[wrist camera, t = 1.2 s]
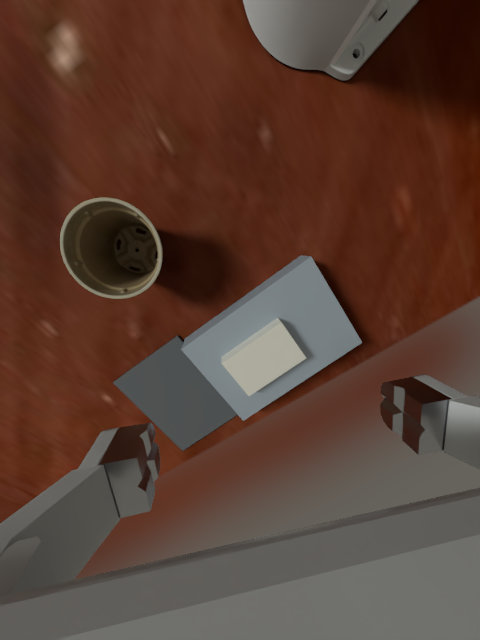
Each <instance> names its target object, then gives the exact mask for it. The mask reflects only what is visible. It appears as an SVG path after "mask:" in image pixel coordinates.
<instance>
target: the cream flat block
mask: <svg viewBox="0 0 480 640" xmlns="http://www.w3.org/2000/svg"><path fill="white" fill-rule="evenodd" d="M305 359H306V357H305V355H304V354H303V352H302V351H301V350H300V348H299V347H298V345H297V344H296V342H295V341H294V339H293V338H292V337H291V335H290V334H289V332H288V331H287V329H286V328H285V326H284V325H283V324H282V322H281V321H280V320H279V319H278V318H276V319H275V320H274V321H272V322H271V323H269V324H268V325H266V326H265V327H264V328H262V329H261V330H259V331H258V332H256V333H255V334H253V335H252V336H251V337H249V338H248V339H246V340H245V341H243V342H242V343H241V344H239V345H238V346H236V347H235V348H233V349H232V350H230V351H229V352H228V353H226V354H225V355H223V356H222V357H221V362H222V365H223V366H224V367H225V368H226V370H227V371H228V372H229V373H230V374H231V376H232V377H233V378H234V379H235V380H236V382H237V383H238V384H239V385H240V386H241V388H242V389H243V390H244V391H245V393H246V394H247V395H248V396H251V395H252V394H254V393H255V392H257V391H258V390H260V389H261V388H263V387H264V386H266V385H267V384H269V383H270V382H272V381H273V380H275V379H276V378H278V377H279V376H281V375H282V374H284V373H285V372H287V371H288V370H290V369H291V368H293V367H294V366H296V365H297V364H299V363H300V362H302V361H303V360H305Z"/></svg>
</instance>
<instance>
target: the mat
mask: <svg viewBox="0 0 480 640" xmlns="http://www.w3.org/2000/svg"><path fill="white" fill-rule="evenodd" d="M183 343H184V342H183V341H182V340H181V338H180V337H179V336H176V337H175V338H173V339H172V340H171V341H169V342H168V343H166V344H165V345H164V346H162V347H161V348H160V349H158V350H157V351H155V352H154V353H153V354H151V355H150V356H148V357H147V358H146V359H144V360H143V361H142V362H140V363H139V364H137V365H136V366H135V367H133V368H132V369H130V370H129V371H128V372H126V373H125V374H124V375H122V376H121V377H119V378H118V379H117V380H115V381H114V382H113V383H114V384H115V385H116V386H117V387H118V388H119V389H120V390H121V391H122V392H123V393H124V394H125V395H126V396H127V397H128V398H129V399H130V400H131V401H132V402H133V403H134V404H135V405H136V406H137V407H138V408H139V409H140V410H141V411H142V412H143V413H144V414H145V415H147V416H148V417H149V418H150V419H151V420H152V421H153V422H154V423H155V424H156V425H157V426H158V427H159V428H160V429H161V430H162V431H163V432H164V433H165V434H166V435H167V436H168V437H169V438H170V439H171V440H172V441H173V442H174V443H175V444H176V445H177V446H178V447H179V448H180V449H181V450H182V451H183V450H185V449H186V448H188V447H189V446H191V445H192V444H194V443H195V442H197V441H199V440H200V439H202V438H203V437H205V436H206V435H208V434H209V433H211V432H212V431H214V430H215V429H217V428H218V427H220V426H221V425H223V424H224V423H226V422H227V421H229V420H230V419H232V418H233V417H235V416H236V415H238V414H237V413H236V412H235V411H234V410H233V409H232V407H231V406H230V405H229V404H228V403H227V402H226V400H225V399H224V398H223V397H222V396H221V395H220V394H219V392H218V391H217V390H216V389H215V388H214V387H213V386H212V384H211V383H210V382H209V381H208V380H207V379H206V378H205V376H204V375H203V374H202V373H201V372H200V371H199V369H198V368H197V367H196V366H195V365H194V364H193V363H192V361H191V360H190V359H189V358H188V357H187V356H186V355H185V353H184V352H183V351H182V350H181V348H182V345H183Z"/></svg>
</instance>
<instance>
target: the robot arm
mask: <svg viewBox="0 0 480 640" xmlns="http://www.w3.org/2000/svg"><path fill="white" fill-rule="evenodd" d="M418 1H419V0H243V2H244V7H245V11H246V14H247V17H248V20H249V22H250V25H251V27H252V29H253V31H254V33H255V35H256V36H257V38H258V40H259V41H260V42H261V44H262V45H263V46H264V48H265V49H266V50H267V51H268V52H269V53H270V54H271V55H272V56H274V57H275V58H276V59H277V60H279V61H281V62H282V63H284V64H286V65H288V66H291V67H294V68H298V69H304V70H321V71H325V72H326V73H328V74H329V75H331V76H333V77H335V78H337V79H339V80H343V81H345V80H349V79H350V78H351V77H352V76H353V75H354V74H355V73H356V72H357V71H358V70H359V69H360V67H361V66H362V65H363V64H364V63H365V62H366V61H367V59H368V58H369V57H370V56H371V55H372V54H373V53H374V51H375V50H376V49H377V48H378V47H379V46H380V45H381V44H382V42H383V41H384V40H385V39H386V38H387V37H388V36H389V34H390V33H391V32H392V31H393V30H394V29H395V28H396V26H397V25H398V24H399V23H400V22H401V21H402V20H403V18H404V17H405V16H406V15H407V14H408V13H409V12H410V11H411V9H412V8H413V7H414V6H415V5H416V4H417V3H418ZM353 54H355V55H356V56H357V58H354V57H353ZM381 394H382V395H383V397H384V400H383V401H382V403H381V405H380V408H381V415H382V418H383V421H384V422H385V424H386V425H387V427H388V428H390V429H391V430H392V431H393V432H395V433H398V434H400V435H402V440H403V441H404V442H405V443H406V444H407V445H408V446H409V447H410V448H411V449H412V450H413V451H415V452H416V453H417V454H418V455H422V454H428V453H434V452H439V451H444V452H445V453H447V454H449V455H451V456H453V457H455V458H457V459H459V460H461V461H463V462H465V463H467V464H469V465H471V466H473V467H476V468H477V469H479V470H480V397H477V396H467V395H465V394H463V393H461V392H459V391H457V390H455V389H453V388H451V387H449V386H447V385H445V384H443V383H441V382H440V381H438V380H436V379H434V378H432V377H430V376H428V375H418V376H413V377H409V378H404V379H399V380H394V381H389V382H384V383H383V384H382V386H381ZM154 437H155V430H154V426H153V424H152V423H146V424H139V425H133V426H126V427H121V428H114V429H108V430H104V431H102V432H101V433H100V435H99V436H98V438H97V439H96V441H95V443H94V444H93V446H92V447H91V449H90V451H89V452H88V454H87V455H86V457H85V459H84V460H83V462H82V463H81V465H80V467H79V468H78V469H77V470H72V471H71V472H69V473H68V474H67V475H65V476H64V477H63V478H61V479H60V480H59V481H57V482H56V483H55V484H53V485H52V486H50V487H49V488H48V489H46V490H45V491H44V492H42V493H41V494H40V495H38V496H37V497H36V498H34V499H33V500H32V501H30V502H29V503H28V504H26V505H25V506H23V507H22V508H21V509H19V510H18V511H17V512H15V513H14V514H13V515H11V516H10V517H9V518H7V519H6V520H5V521H3V522H2V523H1V524H0V640H480V488H476V489H471V490H467V491H463V492H458V493H454V494H449V495H445V496H440V497H436V498H431V499H427V500H423V501H418V502H414V503H409V504H405V505H401V506H396V507H392V508H387V509H383V510H378V511H374V512H370V513H365V514H361V515H356V516H352V517H348V518H343V519H339V520H335V521H330V522H326V523H321V524H317V525H313V526H308V527H304V528H299V529H295V530H291V531H286V532H282V533H278V534H273V535H269V536H264V537H260V538H256V539H251V540H247V541H243V542H238V543H234V544H229V545H225V546H221V547H216V548H212V549H207V550H203V551H198V552H194V553H190V554H185V555H181V556H176V557H173V558H168V559H163V560H159V561H155V562H150V563H146V564H141V565H137V566H133V567H128V568H124V569H119V570H115V571H111V572H106V573H102V574H97V575H93V576H89V577H85V578H80V579H75V577H76V576H77V575H78V573H79V572H80V571H81V570H82V568H83V567H84V566H85V564H86V563H87V562H88V560H89V559H90V558H91V557H92V555H93V554H94V553H95V551H96V550H97V549H98V548H99V546H100V545H101V544H102V542H103V541H104V540H105V538H106V537H107V536H108V535H109V533H110V532H111V531H112V529H113V528H114V527H115V525H116V524H117V523H118V522H119V518H122V517H126V516H131V515H135V514H139V513H143V512H147V511H150V510H151V506H152V502H153V498H154V493H155V486H154V481H155V480H156V479H157V478H158V476H159V471H160V452H159V447H158V445H157V444H156V443H155V442H153V441H154ZM74 579H75V580H74Z"/></svg>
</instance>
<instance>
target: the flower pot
mask: <svg viewBox="0 0 480 640" xmlns="http://www.w3.org/2000/svg"><path fill="white" fill-rule="evenodd" d="M137 229H142V230H144V231H146V234H141V233H138V232H136V230H137ZM118 240H120V241H121V244H120V250H118V247H117V242H118ZM60 249H61V254H62V257H63V261H64V263H65V265H66V267H67V269H68V271H69V272H70V274H71V275H72V276H73V277H74V279H75V280H76V281H77V282H78V283H79V284H80V285H81V286H83V287H84V288H86V289H87V290H89V291H90V292H92V293H94V294H96V295H99V296H102V297H107V298H112V299H124V298H130V297H133V296H136V295H138V294H140V293H142V292H144V291H145V290H147V289H148V288H149V287H150V286H151V285H152V284H153V282H154V281H155V280H156V278H157V276H158V274H159V272H160V269H161V266H162V260H163V249H162V244H161V241H160V237H159V235H158V233H157V231H156V229H155V227H154V225H153V224H152V223H151V221H150V220H149V219H148V218H147V217H146V216H145V215H144V214H143V213H142V212H141V211H140V210H139V209H137V208H136V207H134V206H133V205H131V204H129V203H127V202H124V201H122V200H119V199H114V198H105V197H102V198H95V199H90V200H87V201H84V202H82V203H81V204H79V205H78V206H76V207H75V208H74V209H73V210H72V211H71V212H70V213H69V215H68V216H67V217H66V219H65V221H64V223H63V226H62V229H61V234H60ZM136 249H139V251H138V252H136ZM156 251H158V257H157V259H155V254H156ZM130 267H134V268H139V269H140V271H133V270H132V269H131V268H130Z"/></svg>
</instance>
